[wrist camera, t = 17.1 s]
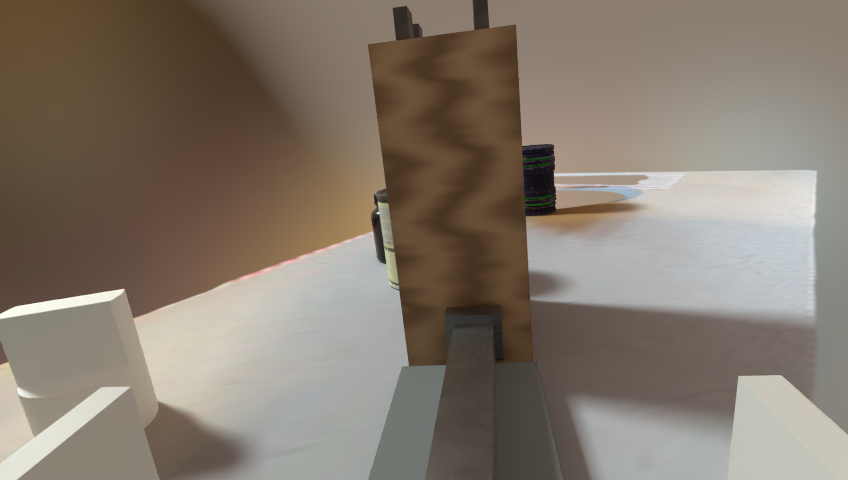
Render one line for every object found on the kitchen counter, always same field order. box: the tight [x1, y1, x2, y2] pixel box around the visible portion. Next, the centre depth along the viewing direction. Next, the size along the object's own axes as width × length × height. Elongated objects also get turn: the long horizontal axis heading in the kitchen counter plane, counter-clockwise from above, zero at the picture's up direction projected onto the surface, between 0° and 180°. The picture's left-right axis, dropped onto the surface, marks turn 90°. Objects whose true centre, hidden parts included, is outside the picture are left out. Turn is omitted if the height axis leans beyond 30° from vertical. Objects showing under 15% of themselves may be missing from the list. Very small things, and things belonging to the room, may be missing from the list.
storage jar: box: [522, 144, 556, 216], centre depth 106 cm, size 10×10×15 cm
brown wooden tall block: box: [368, 0, 533, 366], centre depth 48 cm, size 12×16×33 cm
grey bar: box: [425, 305, 504, 480], centre depth 31 cm, size 5×26×4 cm, turn 172°
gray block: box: [369, 362, 563, 480], centre depth 32 cm, size 12×20×2 cm, turn 173°
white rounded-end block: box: [0, 289, 159, 438], centre depth 40 cm, size 9×9×12 cm
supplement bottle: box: [371, 194, 386, 263], centre depth 81 cm, size 7×7×12 cm
